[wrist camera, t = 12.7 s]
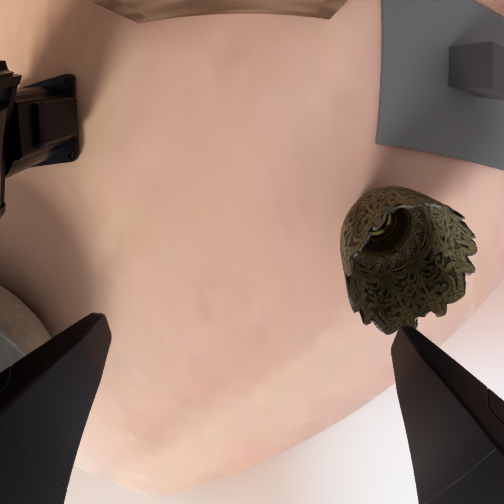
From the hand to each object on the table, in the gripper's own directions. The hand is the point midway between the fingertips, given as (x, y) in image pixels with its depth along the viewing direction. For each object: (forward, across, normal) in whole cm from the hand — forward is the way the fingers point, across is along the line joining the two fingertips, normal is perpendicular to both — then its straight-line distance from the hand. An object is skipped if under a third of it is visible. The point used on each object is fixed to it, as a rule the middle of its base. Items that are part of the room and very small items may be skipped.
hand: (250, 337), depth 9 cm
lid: (+14, -14, -11) cm, 22 cm away
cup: (+13, -8, +1) cm, 15 cm away
